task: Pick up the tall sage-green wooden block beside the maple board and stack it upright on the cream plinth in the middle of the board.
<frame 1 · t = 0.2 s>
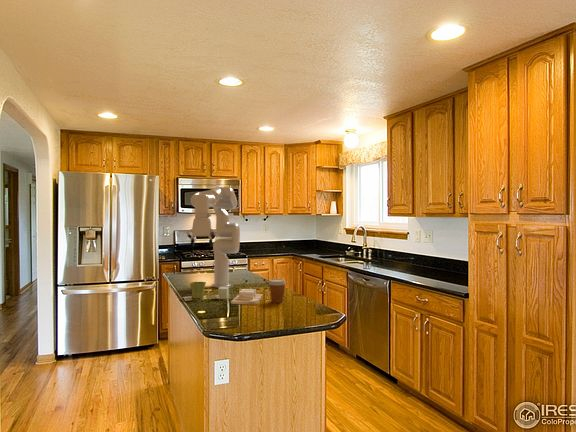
hand: (201, 246, 228), 30 cm above the countertop, tool pointing down, fingers open, 9 cm apart
disposable coffee cup: (277, 302, 227), on the countertop
stack base: (247, 300, 230), on the countertop
sage block: (223, 298, 235), on the countertop
plant pot: (197, 298, 236), on the countertop
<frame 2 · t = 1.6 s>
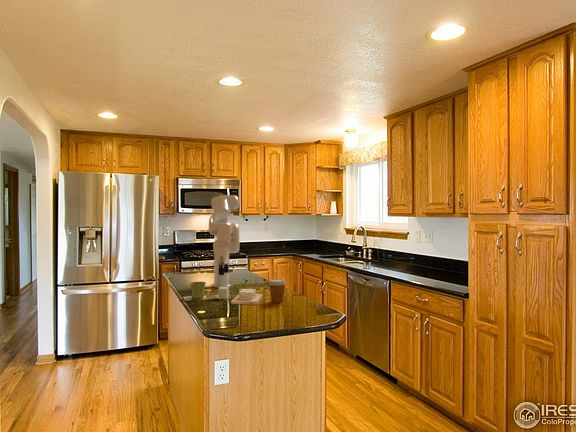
hand: (223, 273, 235), 14 cm above the countertop, tool pointing down, fingers open, 9 cm apart
nothing on the countertop moved.
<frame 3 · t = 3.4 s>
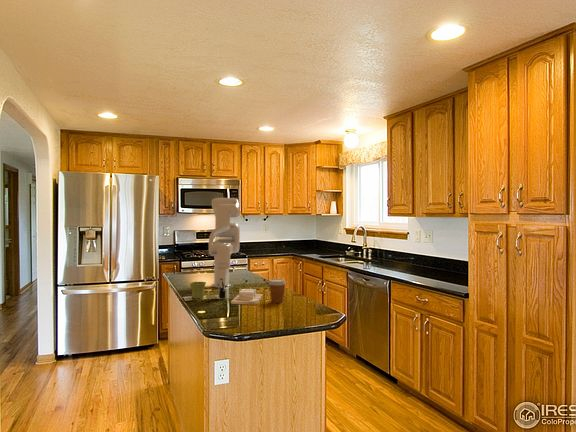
hand: (223, 296, 235), 1 cm above the countertop, tool pointing down, fingers closed on sage block, 5 cm apart
sage block: (223, 298, 236), on the countertop, touching gripper
everything else where it was.
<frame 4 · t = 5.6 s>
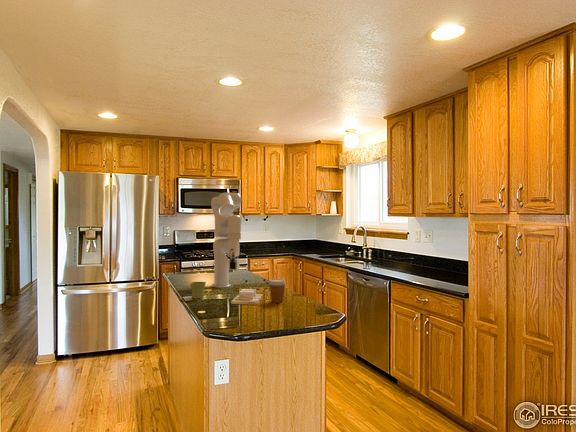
hand: (234, 268, 233), 18 cm above the countertop, tool pointing down, fingers closed on sage block, 5 cm apart
sage block: (234, 269, 233), point 17 cm above the countertop, touching gripper
everything else where it was.
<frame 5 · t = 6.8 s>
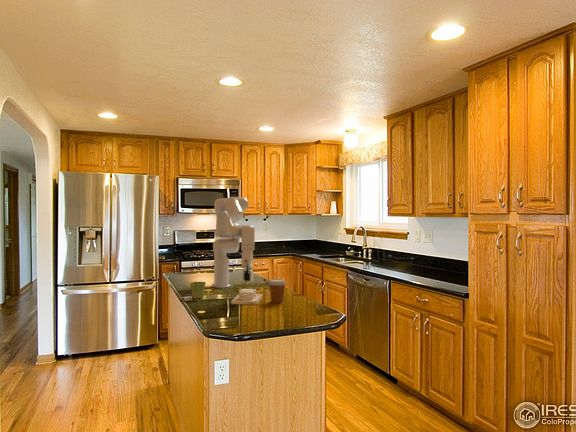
hand: (247, 279, 230), 12 cm above the countertop, tool pointing down, fingers closed on sage block, 5 cm apart
sage block: (247, 280, 230), point 11 cm above the countertop, touching gripper
everything else where it was.
when the fingers open (8 cm above the countertop, at t = 7.8 s): sage block drops 1 cm, resting on stack base.
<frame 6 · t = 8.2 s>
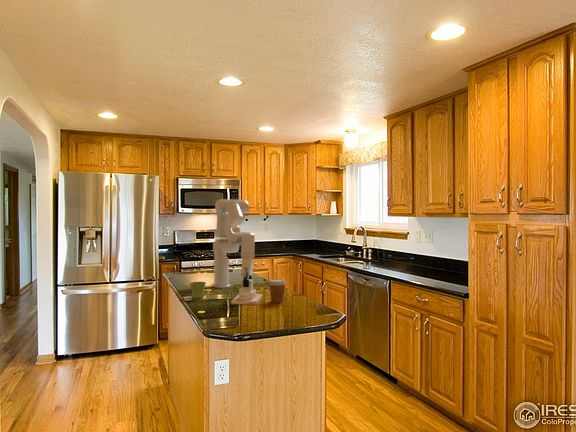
hand: (247, 285, 230), 8 cm above the countertop, tool pointing down, fingers open, 8 cm apart
sage block: (247, 290, 230), point 5 cm above the countertop, touching stack base
everything else where it was.
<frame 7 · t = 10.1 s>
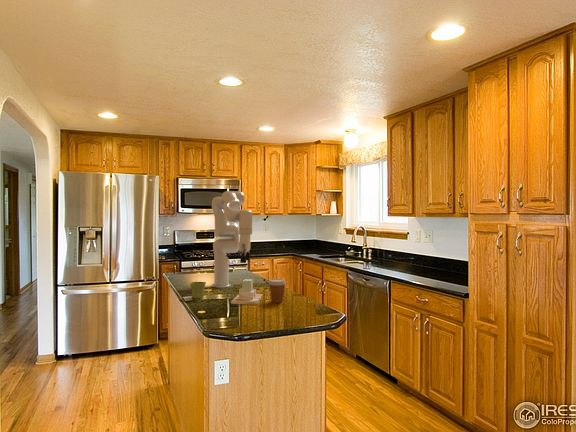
hand: (245, 261, 233), 22 cm above the countertop, tool pointing down, fingers open, 9 cm apart
nothing on the countertop moved.
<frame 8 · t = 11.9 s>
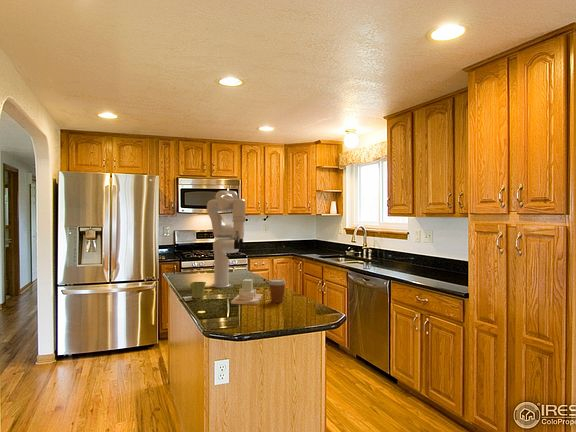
hand: (238, 248, 242), 28 cm above the countertop, tool pointing down, fingers open, 9 cm apart
nothing on the countertop moved.
at the end: sage block 0.1 cm off-centre on the stack base, point 5.5 cm above the stack base's base; sage block tilted 0°; the gripper is holding nothing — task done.
